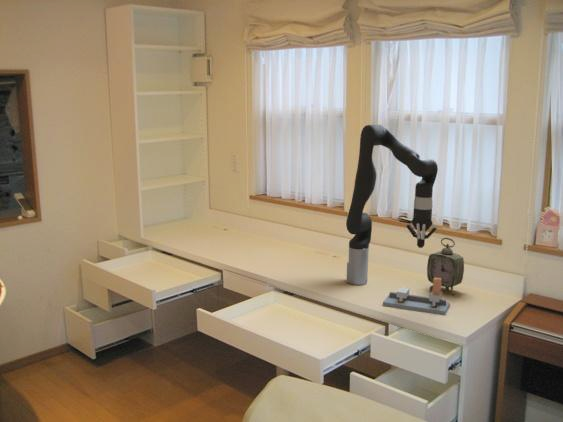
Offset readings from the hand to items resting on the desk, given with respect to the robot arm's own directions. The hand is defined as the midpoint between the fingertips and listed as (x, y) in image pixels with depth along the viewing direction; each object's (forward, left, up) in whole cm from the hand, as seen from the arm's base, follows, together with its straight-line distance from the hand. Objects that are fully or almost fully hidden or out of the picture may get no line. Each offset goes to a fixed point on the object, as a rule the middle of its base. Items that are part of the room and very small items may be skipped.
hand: (420, 247), depth 262 cm
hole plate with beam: (0, -2, -25) cm, 25 cm away
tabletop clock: (+8, +22, -25) cm, 35 cm away
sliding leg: (+8, -2, -23) cm, 24 cm away
